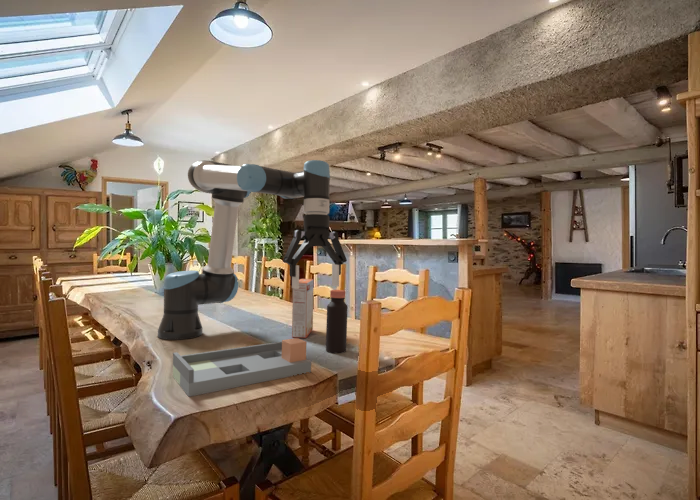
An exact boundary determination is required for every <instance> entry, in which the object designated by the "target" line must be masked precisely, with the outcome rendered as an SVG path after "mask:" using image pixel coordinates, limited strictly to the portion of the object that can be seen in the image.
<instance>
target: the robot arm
mask: <svg viewBox="0 0 700 500" xmlns="http://www.w3.org/2000/svg"><path fill="white" fill-rule="evenodd" d="M330 173H331V172H330V164H329V163H328V162H327V161H325V160H320V159H319V160H318V159H312V160H311V159H310V160H307V161H305V162H304V164H303V169H302V170H301V171H296V172H292V171H287V170H282V169H278V168H272V167H267V166H261V165H259V164H254V163H252V164H251V163H244V164H242V165H239V164H238V165H236V164H228V163H223V162H218V161H217V162H216V161H212V160H198V161H196V162H195V161H194V162H193V163H192V164H191V165H190V167H189V169H188V171H187V179H188V182H189V183H190V185H191V186H192V187H193V188H194V189H195V190H197V191H199V192H203V193H205V194H211V199H212V200H213V202H214V209H213V217H212V218H213V219H212V226H211V236H210V243H209V244H210V245H209V249H208V250H209V252H208V258H207V264H205V266H204V267H203V268H202V273H200V272H199V270H183V271H182V270H180V271H175V272H171V273H169V274H167V275H166V276H165V278H164V282H163V283H164V284H163V315H162V318H161V321H160V324H159V326H158V329H157V337H158V338H159V339H162V340H186V339H187V340H188V339H194V338H197V337H200V336H202V335H203V325H202V322H201V319H200V316H199V306H200V305H201V306H202V305H209V304H222V303H228V302H230V301H232V300H234V298H235V297H236V296H237V293H238V290H239V281H238V280H239V279H238V276H237V275H236V274H235V270H234V269H233V267H232V258H233V253H234V252H233V251H234V246H235V245H234V243H235V238H236V237H235V236H236V231H237V230H236V228H237V224H238V223H237V221H238V220H237V219H238V213H239V207H240V206H241V205H242V204H244V200H245V199H247V198H248V197H249V196H250V194H251V193H258V194H268V195H273V196H279V197H280V198H283V199H290V200H291V199H292V200H293V199H296V198H302V197H303V213H304V214H305V215H303V230H301V229H296V230H294V231H293V235H292V236H293V238H292V240H291V241H290V245H289V246H288V248H287V251H286V253H285V255H284V257H283V258H282V261H283V263H284V264H287V265H288V266H289V276H290V277H291V289H293V288H295V289H299V280H300V265H297V264H298V263H299V261H300V260H301V259H302V258H303V256H304V255H305V253H306V252H307V251H308V249H309V248H310V247H321V248H323V249H324V251H325V252H326V253H327V255H328V256H329V257H330V259H331V260H332V262H333V263H334V264H331V287H340V276H341V274H342V265H343V264H344V263H347V261H348V259H347V257H346V255H345V252H344V249H343V247H342V244H341V242H340V240H339V239H340V238H339V232H338V231H331V232H330V231H329V229H330V216H329V214H330V184H331V183H330V182H331V181H330V180H331V174H330ZM302 238H303V239H304V240H303V242H302V243H301V245H300V246H299V244H300V242H301V239H302ZM329 239H330V240H329ZM330 242H331V243H330ZM298 247H299V248H298ZM297 248H298V249H297Z"/></svg>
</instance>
